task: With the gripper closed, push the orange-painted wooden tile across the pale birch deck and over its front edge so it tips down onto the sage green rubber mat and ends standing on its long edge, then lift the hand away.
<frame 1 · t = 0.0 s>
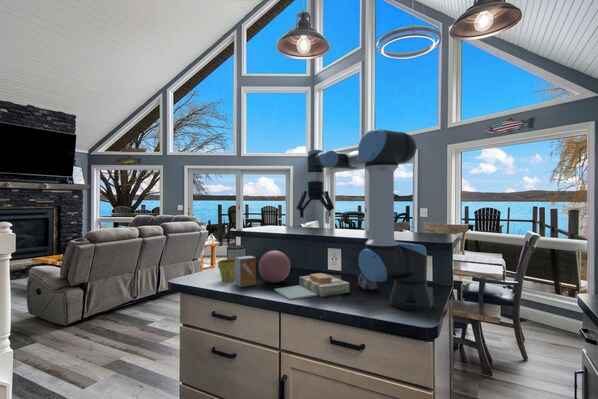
hand: (315, 223, 160), 28 cm above the countertop, tool pointing down, fingers open, 13 cm apart
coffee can: (236, 271, 181), on the countertop
small box: (245, 285, 152), on the countertop
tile: (320, 280, 144), point 4 cm above the countertop, touching deck
deck: (323, 288, 144), on the countertop
plant pot: (228, 280, 160), on the countertop
mineral rock: (367, 287, 148), on the countertop
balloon: (277, 281, 158), on the countertop
mat: (295, 292, 138), on the countertop
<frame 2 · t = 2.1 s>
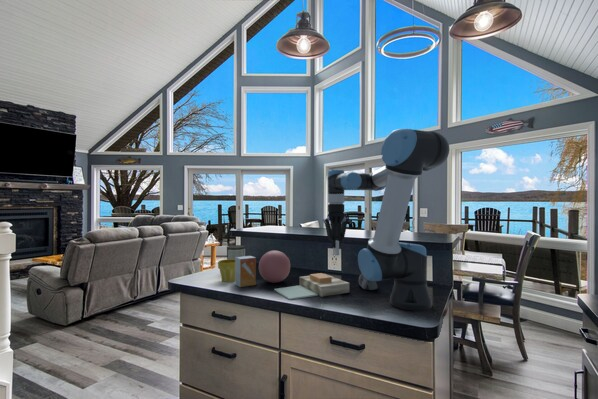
hand: (336, 254, 148), 15 cm above the countertop, tool pointing down, fingers closed
nothing on the countertop moved.
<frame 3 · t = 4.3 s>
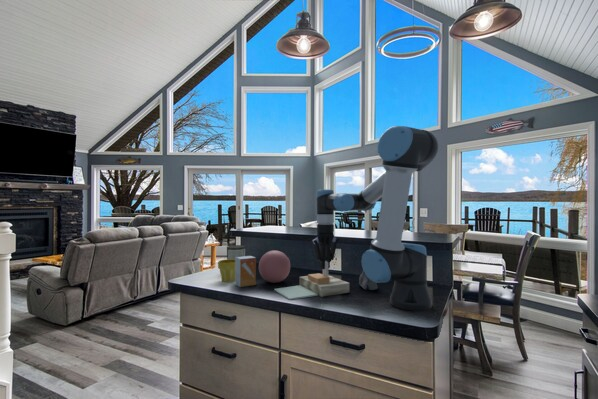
hand: (325, 275, 145), 6 cm above the countertop, tool pointing down, fingers closed
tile: (318, 280, 143), point 4 cm above the countertop, touching gripper
everything else where it was.
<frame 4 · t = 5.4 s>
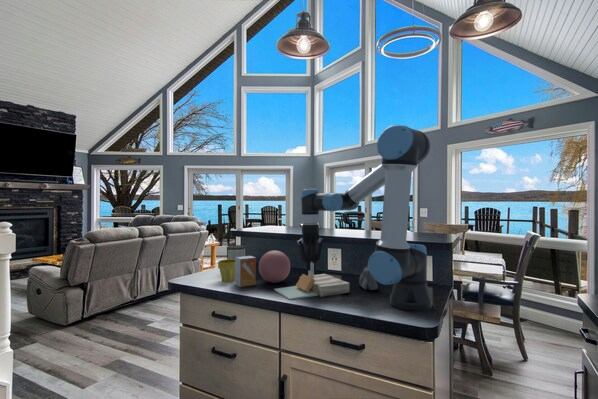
hand: (311, 277, 142), 6 cm above the countertop, tool pointing down, fingers closed
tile: (306, 284, 141), point 3 cm above the countertop, tilted 53°, touching gripper, mat
everything else where it was.
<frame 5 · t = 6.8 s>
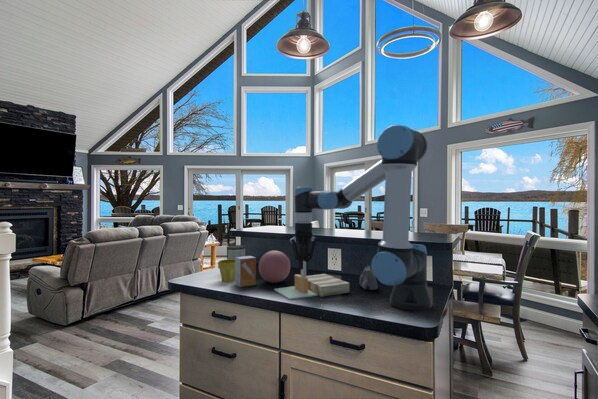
hand: (303, 276, 140), 7 cm above the countertop, tool pointing down, fingers closed
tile: (303, 283, 140), point 4 cm above the countertop, tilted 91°, touching gripper, mat
everything else where it was.
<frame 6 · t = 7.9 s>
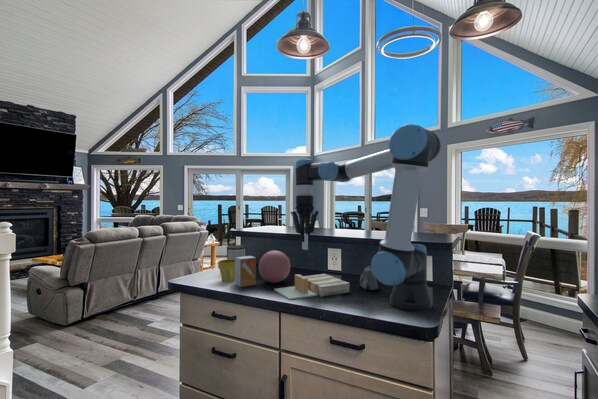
hand: (305, 249, 140), 18 cm above the countertop, tool pointing down, fingers closed
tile: (303, 283, 140), point 4 cm above the countertop, tilted 90°, touching mat
everything else where it was.
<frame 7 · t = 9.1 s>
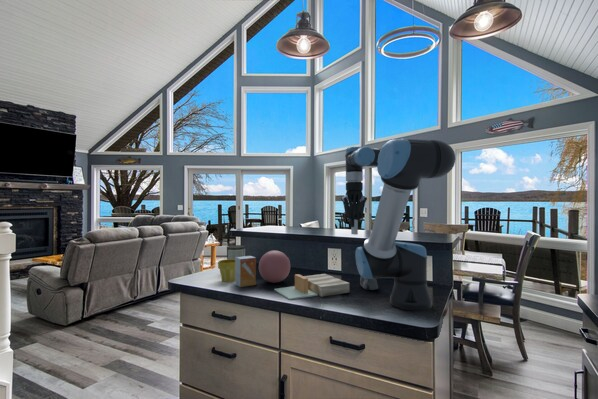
hand: (354, 234, 145), 24 cm above the countertop, tool pointing down, fingers closed
nothing on the countertop moved.
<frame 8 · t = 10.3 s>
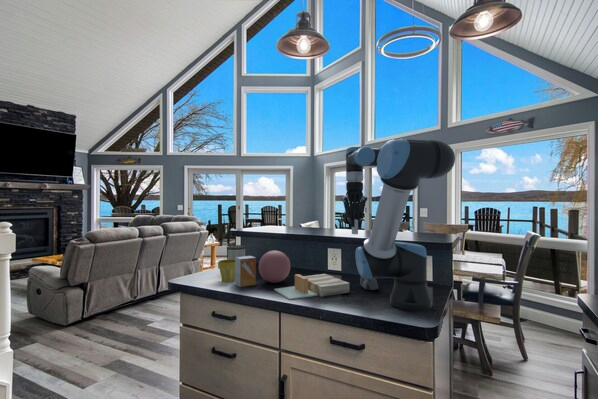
hand: (354, 234, 145), 24 cm above the countertop, tool pointing down, fingers closed
nothing on the countertop moved.
at the end: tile inside the target area on the mat (4.0 cm from its centre), point 3.6 cm above the mat's base; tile tilted 90°; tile touching mat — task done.
